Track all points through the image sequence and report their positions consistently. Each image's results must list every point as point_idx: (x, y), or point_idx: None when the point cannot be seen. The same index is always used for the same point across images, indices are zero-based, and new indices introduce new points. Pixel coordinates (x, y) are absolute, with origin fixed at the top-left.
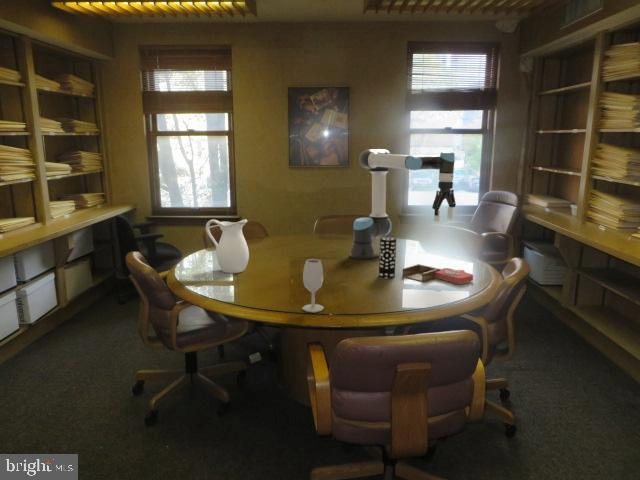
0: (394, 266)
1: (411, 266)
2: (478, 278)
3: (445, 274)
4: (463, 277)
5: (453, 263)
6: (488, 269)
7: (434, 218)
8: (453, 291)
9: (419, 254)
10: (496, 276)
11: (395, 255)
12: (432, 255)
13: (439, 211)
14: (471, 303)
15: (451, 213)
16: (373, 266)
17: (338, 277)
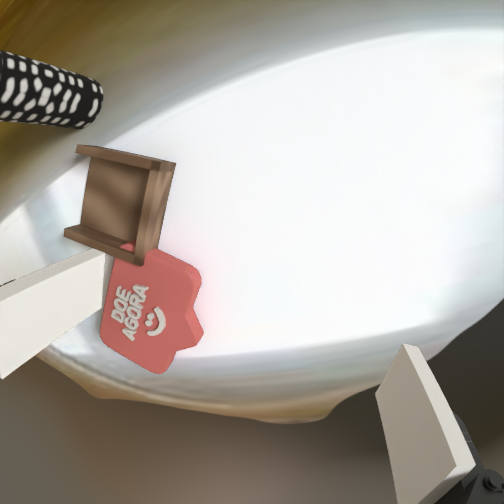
0: (56, 125)
1: (113, 156)
2: (220, 373)
3: (108, 295)
4: (113, 349)
5: (401, 255)
6: (360, 385)
7: (70, 260)
8: None
9: (473, 84)
10: (276, 413)
11: (32, 120)
12: (487, 139)
13: (12, 361)
14: (41, 357)
15: (392, 438)
16: (171, 4)
17: (39, 30)
